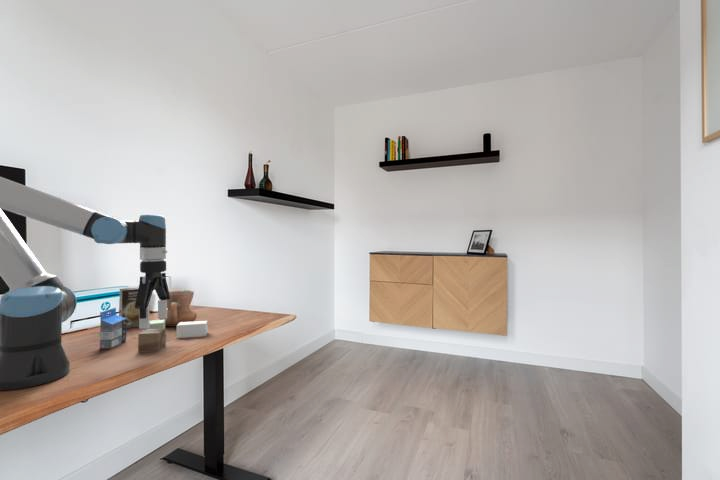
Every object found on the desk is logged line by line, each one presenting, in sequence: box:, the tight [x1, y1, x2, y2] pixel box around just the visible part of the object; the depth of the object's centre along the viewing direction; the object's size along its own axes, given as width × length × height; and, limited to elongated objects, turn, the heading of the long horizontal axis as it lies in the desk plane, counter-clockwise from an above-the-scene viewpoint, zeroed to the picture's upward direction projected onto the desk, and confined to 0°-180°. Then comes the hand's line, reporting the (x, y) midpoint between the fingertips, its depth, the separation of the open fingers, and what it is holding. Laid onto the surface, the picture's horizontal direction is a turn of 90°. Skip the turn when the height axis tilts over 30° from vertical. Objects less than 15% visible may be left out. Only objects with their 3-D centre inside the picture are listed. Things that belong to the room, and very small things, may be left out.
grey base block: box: [176, 320, 209, 339], centre depth 128 cm, size 5×10×5 cm, turn 106°
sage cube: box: [143, 319, 166, 331], centre depth 125 cm, size 6×6×6 cm
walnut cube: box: [137, 327, 167, 353], centre depth 112 cm, size 6×6×6 cm
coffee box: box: [118, 287, 139, 329], centre depth 142 cm, size 9×6×16 cm
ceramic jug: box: [158, 289, 198, 327], centre depth 145 cm, size 18×14×14 cm
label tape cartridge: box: [99, 307, 127, 350], centre depth 116 cm, size 9×4×12 cm, turn 7°
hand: (154, 323), depth 112 cm, fingers open, 13 cm apart
